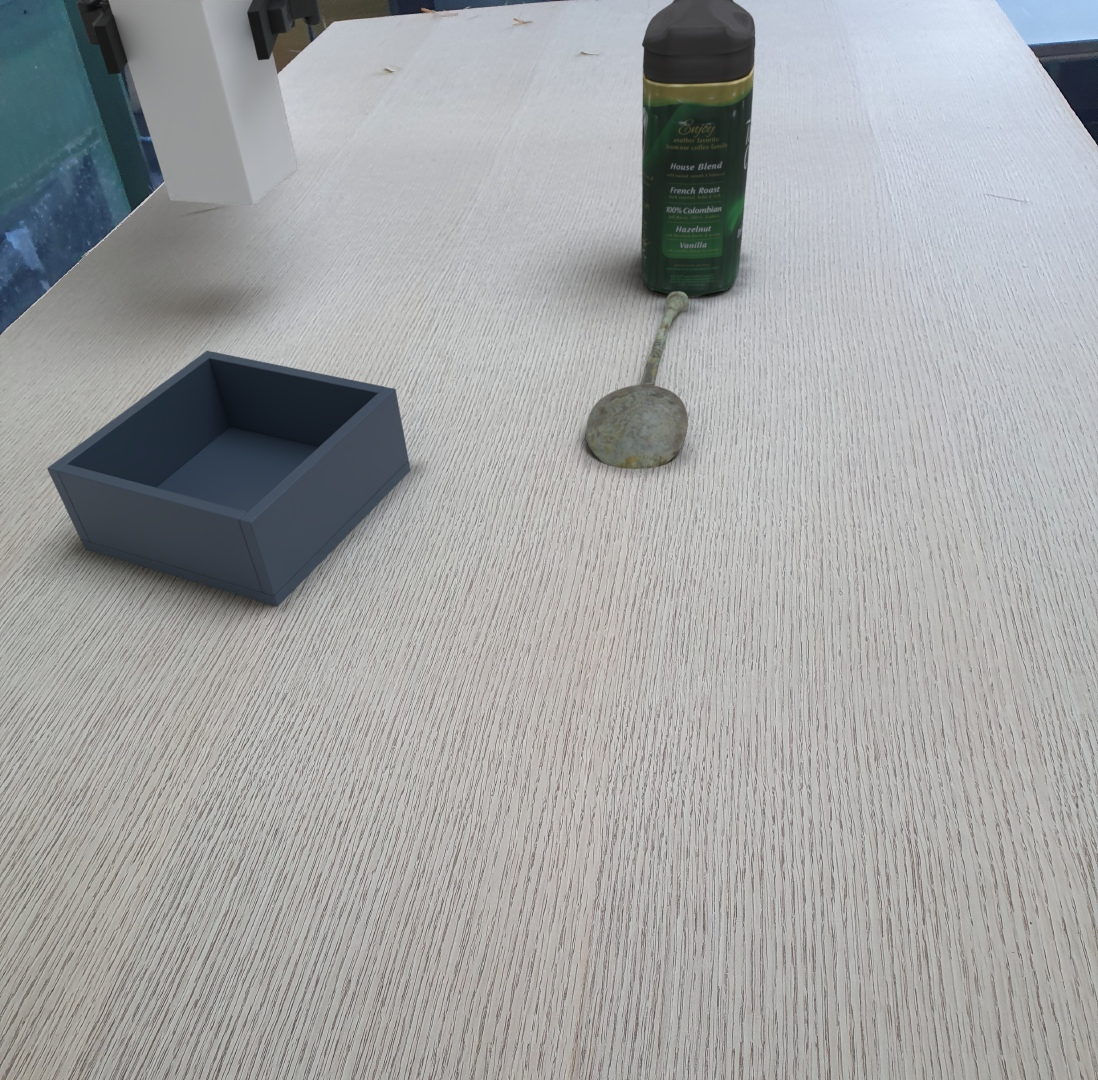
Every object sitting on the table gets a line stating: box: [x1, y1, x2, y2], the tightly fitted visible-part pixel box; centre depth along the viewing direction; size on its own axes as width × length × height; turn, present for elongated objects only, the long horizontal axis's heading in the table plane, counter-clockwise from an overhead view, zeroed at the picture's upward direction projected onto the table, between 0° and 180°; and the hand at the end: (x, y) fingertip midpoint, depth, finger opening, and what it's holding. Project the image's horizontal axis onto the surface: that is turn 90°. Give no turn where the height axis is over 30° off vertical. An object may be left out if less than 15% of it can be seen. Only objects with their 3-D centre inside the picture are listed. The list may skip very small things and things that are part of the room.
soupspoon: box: [585, 291, 690, 470], centre depth 74 cm, size 22×3×7 cm
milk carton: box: [109, 0, 299, 206], centre depth 73 cm, size 7×7×19 cm
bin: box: [47, 350, 412, 607], centre depth 65 cm, size 15×15×6 cm
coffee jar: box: [640, 0, 756, 298], centre depth 79 cm, size 10×8×19 cm
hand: (182, 43), depth 70 cm, fingers closed on milk carton, 9 cm apart
